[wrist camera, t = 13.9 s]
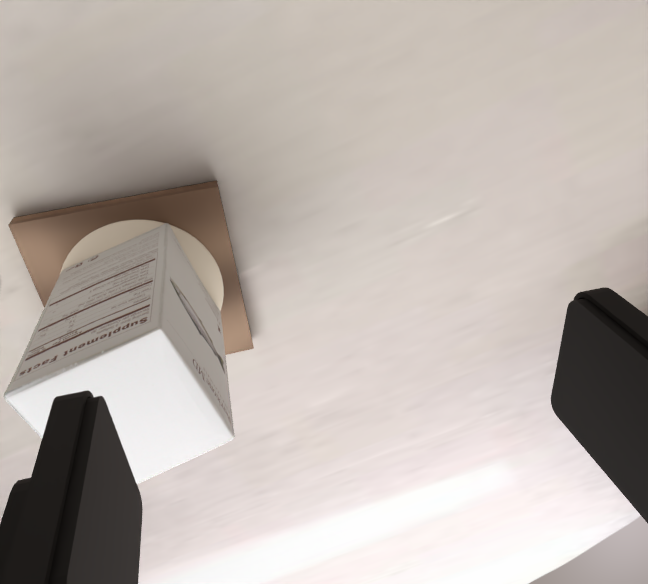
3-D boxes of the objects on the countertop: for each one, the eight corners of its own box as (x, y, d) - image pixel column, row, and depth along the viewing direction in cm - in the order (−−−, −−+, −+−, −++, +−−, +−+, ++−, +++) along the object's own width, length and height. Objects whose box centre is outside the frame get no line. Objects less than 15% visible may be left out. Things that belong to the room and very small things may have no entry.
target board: (14, 217, 33) (7, 225, 31) (216, 180, 34) (217, 187, 33) (81, 377, 39) (78, 389, 37) (251, 339, 40) (253, 349, 39)
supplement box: (223, 311, 37) (240, 443, 26) (121, 356, 37) (96, 508, 26) (170, 216, 33) (164, 326, 22) (56, 266, 33) (-5, 400, 22)
